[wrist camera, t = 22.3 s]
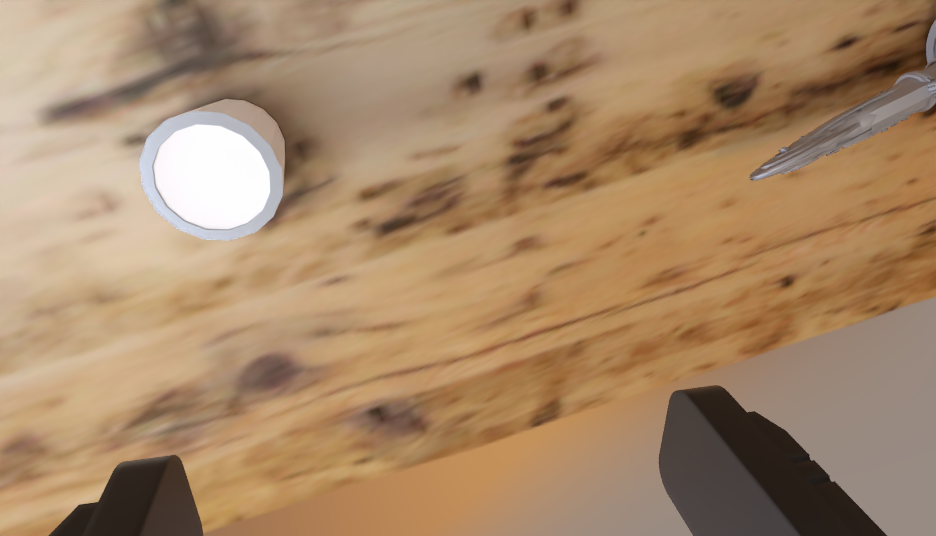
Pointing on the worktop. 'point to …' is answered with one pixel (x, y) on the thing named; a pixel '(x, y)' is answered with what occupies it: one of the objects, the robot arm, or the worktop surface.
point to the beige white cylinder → (216, 169)
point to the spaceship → (861, 119)
